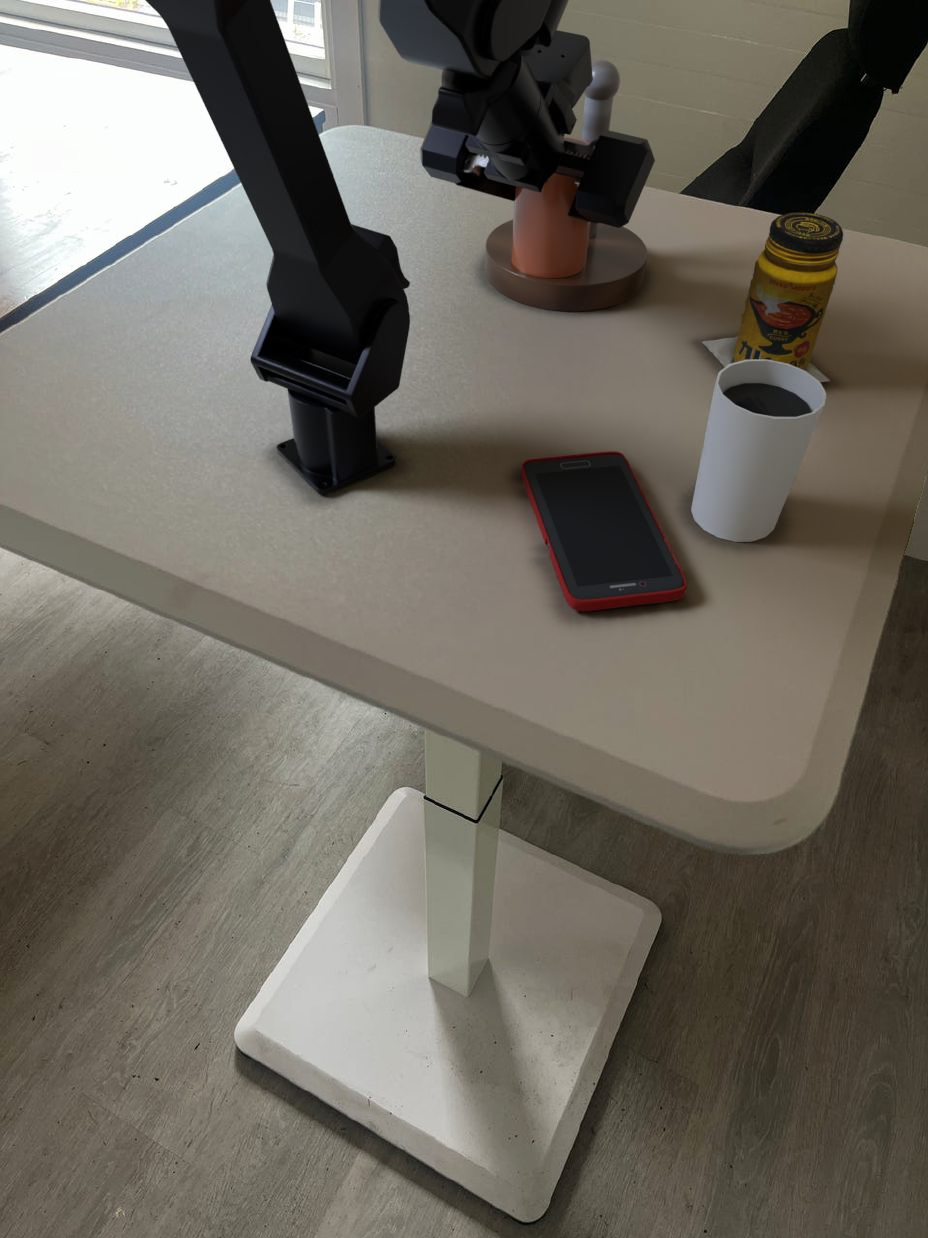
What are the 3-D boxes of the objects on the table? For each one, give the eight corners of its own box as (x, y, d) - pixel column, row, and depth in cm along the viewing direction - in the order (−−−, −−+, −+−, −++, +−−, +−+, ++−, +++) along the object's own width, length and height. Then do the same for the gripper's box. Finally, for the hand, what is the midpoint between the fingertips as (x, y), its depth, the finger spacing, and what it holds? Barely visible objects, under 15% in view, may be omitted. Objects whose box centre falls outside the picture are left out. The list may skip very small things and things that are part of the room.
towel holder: (599, 328, 81) (628, 116, 69) (454, 281, 87) (457, 77, 74) (668, 263, 90) (705, 65, 78) (533, 224, 96) (547, 33, 83)
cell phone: (620, 459, 68) (622, 448, 67) (689, 601, 58) (692, 590, 57) (517, 469, 67) (518, 458, 66) (569, 615, 57) (570, 604, 56)
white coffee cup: (737, 560, 61) (777, 432, 54) (664, 506, 65) (692, 380, 57) (803, 521, 64) (849, 395, 57) (729, 472, 67) (764, 348, 60)
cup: (601, 265, 84) (616, 153, 77) (543, 285, 81) (553, 171, 74) (552, 237, 88) (562, 128, 81) (495, 256, 85) (500, 144, 78)
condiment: (750, 396, 74) (791, 249, 66) (701, 343, 80) (733, 201, 71) (829, 383, 76) (880, 238, 67) (776, 332, 82) (816, 191, 73)
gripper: (667, 19, 64) (697, 142, 78) (438, -22, 70) (505, 98, 85) (601, 176, 65) (642, 268, 79) (382, 120, 71) (457, 215, 86)
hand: (560, 207), depth 82 cm, fingers closed on cup, 7 cm apart
